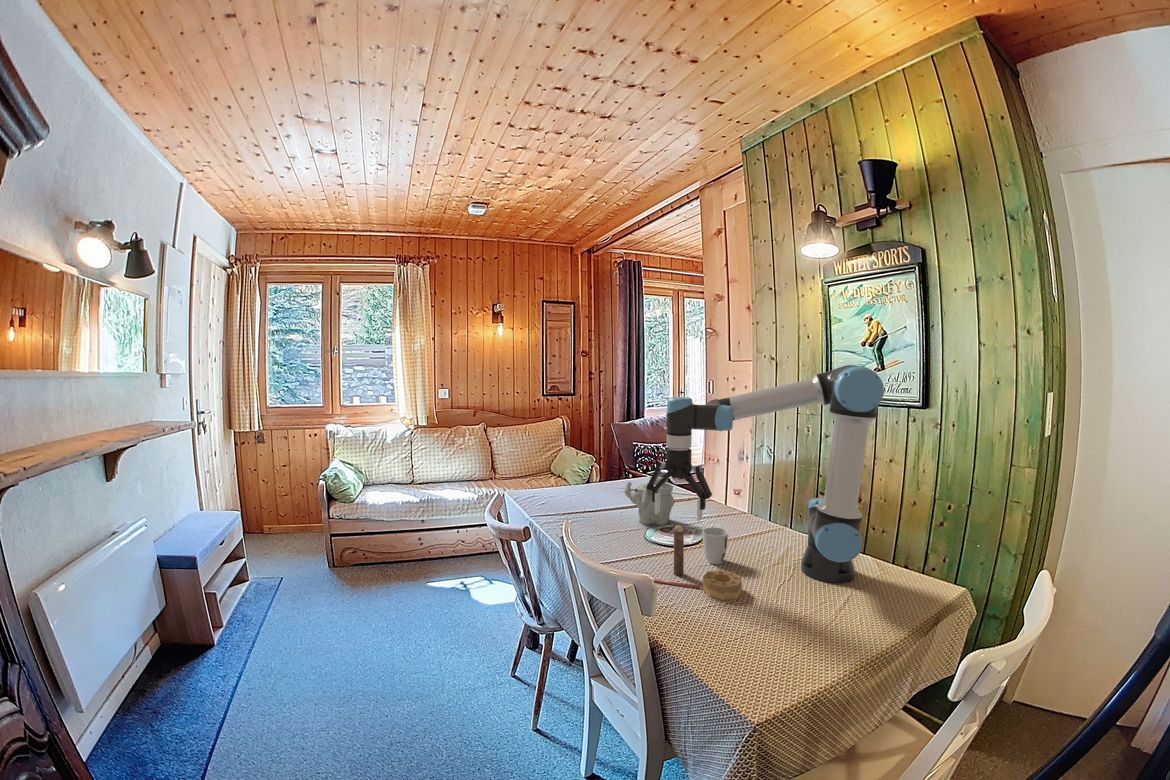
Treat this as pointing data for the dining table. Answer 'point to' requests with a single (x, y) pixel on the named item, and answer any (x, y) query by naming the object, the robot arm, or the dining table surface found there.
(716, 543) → the cup
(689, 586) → the thin red rod
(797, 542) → the dining table surface
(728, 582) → the wooden ring block
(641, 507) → the teapot
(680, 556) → the brown rod
